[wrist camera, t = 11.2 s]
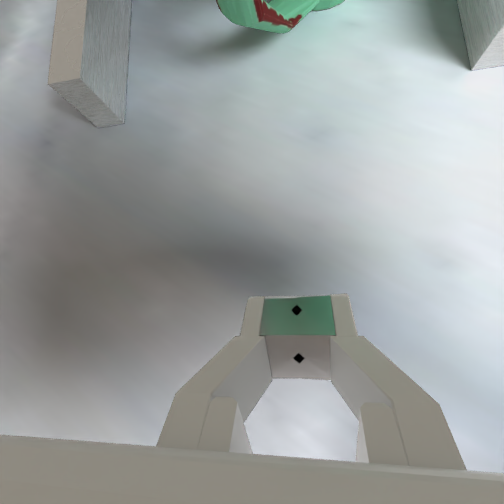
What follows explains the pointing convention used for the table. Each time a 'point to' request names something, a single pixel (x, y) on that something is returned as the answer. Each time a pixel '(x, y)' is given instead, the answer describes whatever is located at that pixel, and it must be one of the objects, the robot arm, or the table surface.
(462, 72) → the table surface
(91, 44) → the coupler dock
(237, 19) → the mug
